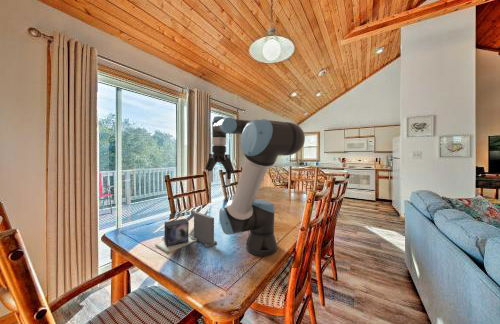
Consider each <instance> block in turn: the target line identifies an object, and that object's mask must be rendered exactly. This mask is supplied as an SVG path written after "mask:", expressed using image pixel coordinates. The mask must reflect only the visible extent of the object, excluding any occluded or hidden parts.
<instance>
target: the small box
mask: <svg viewBox="0 0 500 324" xmlns="http://www.w3.org/2000/svg"><path fill="white" fill-rule="evenodd" d="M189 227H190V226H189V221H188V220H187V218H181V219H175V220H169V221H165V222H164V241H163V242H165V244H166V246H167V247H169V246H173V245H177V244H181V243H186V242H188V235H189Z"/></svg>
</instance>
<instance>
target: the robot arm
mask: <svg viewBox="0 0 500 324" xmlns="http://www.w3.org/2000/svg"><path fill="white" fill-rule="evenodd" d="M211 126H212V130H211V131H212V132H211V133H212V135H211V136H212V138H211V144H212V148H211V151H212V153H209V154H208V160H207V163H206V166H205V170H206V171H207V176H208V184H209V183H213V182H214V170H213V169H214V167H215V166H216V164H217V163H220V164H222V167H223V168H224V170H225V186H230V185H231V178H232V173H234V172H235V169H234V166H233V163H232V161H231V157H230V154H228V153H227V146H226V145H227V134H231V135H233V134H234V135H241V137H240V140H241V141H240V148H241V151H242V153H243V156H244V158H245V161H244V164H243V167H242V169H241V173H240V177H239V179H238V181H237V185H236V188H235V191H234V194H233V197H232V198H231V199H230V200H229V201H228V202H227V204H226V207H221V208H220V209H219V212H218V213H219V222H220V227H221V230H222V232H223V233H224V234H225V235H228V236H229V235H235V234H236V235H237V234H240V233H245V232H249V233H248V236H247V240H246V242H245V250H246V251H247V252H248V253H250V254H251V255H254V256H257V257H269V256H272V255H274V254H275V253H276V252H277V251H278V243H277V240H276V236H275V205H274V203H272V202H271V201H268V200H263V199H256V197H257V195H258V193H259V190H260V187H261V185H262V182H263V180H264V178H265V176H266V173H267V171H268V168H270V167H272V166H274V164H275V163H276V161H277V158H278V157H279V156H293V155H294V154H297V153H298V152H300V151H301V150H302V148H303V147H304V144H305V141H306V135H305V132H304V130H303V129H302V127H301V126H299V125H298V124H296V123H294V122H289V121H279V120H278V121H277V120H269V119H266V118H265V119H264V118H263V119H252V120H247V119H239V118H233V117H232V116H231V117H230V116H229V117H225V116H220V115H219V116H213V117H212V122H211ZM226 153H227V154H226Z"/></svg>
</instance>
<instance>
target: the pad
mask: <svg viewBox="0 0 500 324" xmlns="http://www.w3.org/2000/svg"><path fill="white" fill-rule="evenodd" d="M192 237H194V235H193V236H192V235H190V234H188V242H186V243H181V244H177V245H173V246H169V247H167V246H166V244H165V242H164V241H162V242H159V243H155V244H154V246H155V247H156V248H157V249H159V250H161V251H163V252H165V253H166V254H169V253H172V252H174V251H176V250H179V249H181V248H183V246H184V247H186V246H188V245H191V244H193V243H195V242H197V241H198V240H197V238H195V237H194V238H195V240H192V239H191V238H192Z"/></svg>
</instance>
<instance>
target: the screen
mask: <svg viewBox="0 0 500 324" xmlns="http://www.w3.org/2000/svg"><path fill="white" fill-rule="evenodd" d="M194 237H195V238H197V241H199V242H201V243H203V244H204V246H203V247H204V248H206V249H209V248H210V247H211V248H212V247H214V246H216V244H217V243H218V241H216V240H215V218H214V217H213V216H210V215H206V214H204V213H201V212H197V211H195V212H193V237H192V238H191V239H192V240H195V238H194Z"/></svg>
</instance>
